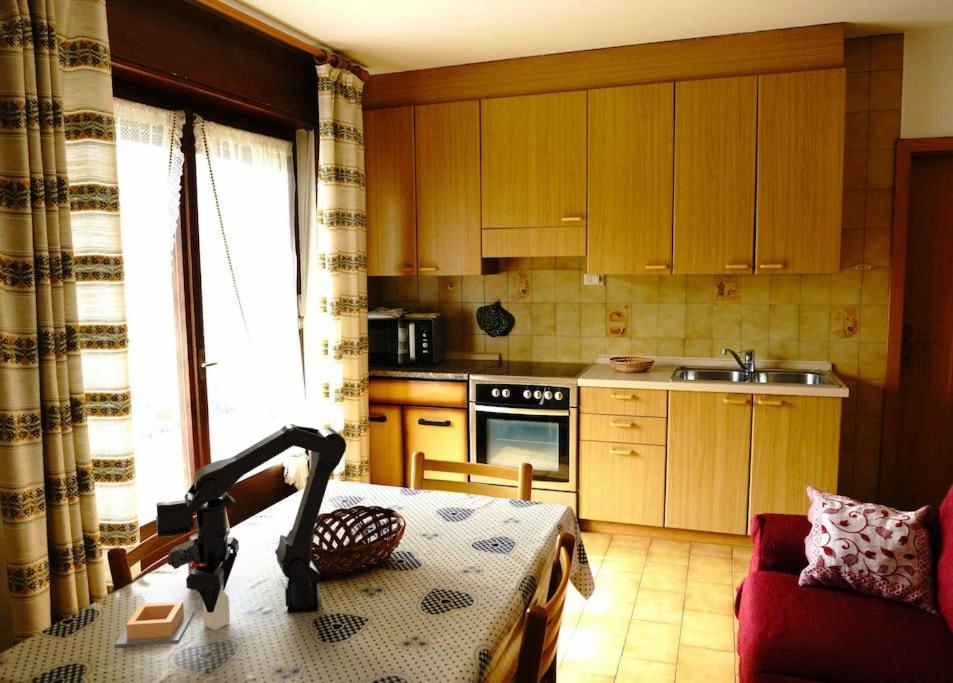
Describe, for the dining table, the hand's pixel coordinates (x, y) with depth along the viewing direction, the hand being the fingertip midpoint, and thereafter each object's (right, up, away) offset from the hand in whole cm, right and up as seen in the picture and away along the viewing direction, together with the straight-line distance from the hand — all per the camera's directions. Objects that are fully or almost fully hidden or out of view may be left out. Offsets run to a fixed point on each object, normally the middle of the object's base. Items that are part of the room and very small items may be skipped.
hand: (216, 601), depth 147 cm
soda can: (-9, -3, +19) cm, 21 cm away
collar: (-12, -5, -1) cm, 13 cm away
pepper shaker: (0, -5, +1) cm, 5 cm away
